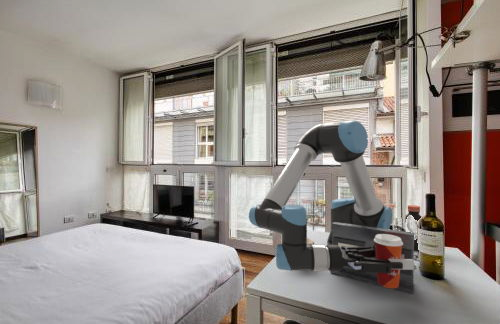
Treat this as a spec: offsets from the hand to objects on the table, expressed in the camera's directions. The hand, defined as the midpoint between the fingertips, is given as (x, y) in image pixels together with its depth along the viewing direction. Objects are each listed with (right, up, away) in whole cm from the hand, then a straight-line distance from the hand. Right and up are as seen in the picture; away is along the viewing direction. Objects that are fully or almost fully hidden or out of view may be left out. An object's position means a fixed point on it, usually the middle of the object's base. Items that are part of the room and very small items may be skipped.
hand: (405, 259), depth 75 cm
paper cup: (-5, -8, +1) cm, 9 cm away
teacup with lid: (-24, -13, +30) cm, 40 cm away
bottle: (+31, -12, +44) cm, 55 cm away
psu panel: (-3, -13, +15) cm, 20 cm away
